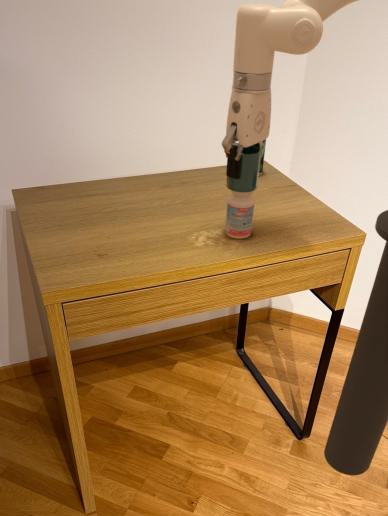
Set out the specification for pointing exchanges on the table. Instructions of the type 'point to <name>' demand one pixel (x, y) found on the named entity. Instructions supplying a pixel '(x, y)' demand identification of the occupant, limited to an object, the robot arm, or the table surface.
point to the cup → (247, 170)
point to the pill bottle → (239, 214)
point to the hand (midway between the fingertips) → (243, 172)
